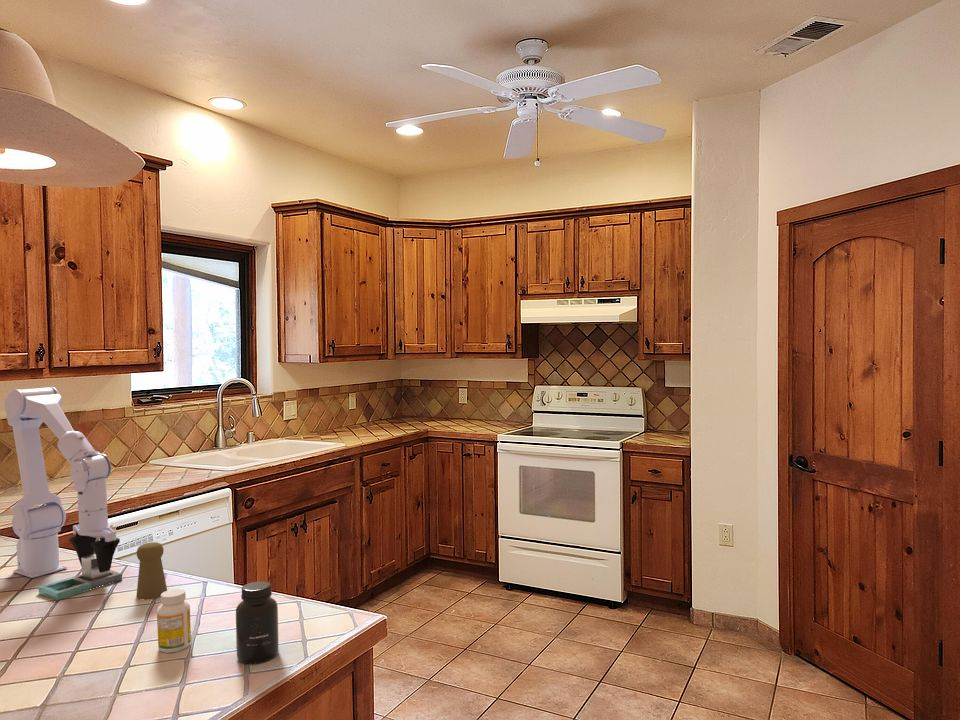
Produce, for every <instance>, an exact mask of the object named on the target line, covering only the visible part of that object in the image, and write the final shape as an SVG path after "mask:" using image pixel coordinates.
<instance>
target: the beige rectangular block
mask: <svg viewBox="0 0 960 720" xmlns="http://www.w3.org/2000/svg"><path fill="white" fill-rule="evenodd" d="M81 560H82V567H81V574H82V579H84V580H87V581H93V580H96V579H100V578H103V577H106V576H109V571H105V572H102V573H101V572H99V569H98V564H97V558H96V555H95V553H93V554H92V555H89V556H85V557H81Z"/></svg>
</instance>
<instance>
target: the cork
mask: <svg viewBox="0 0 960 720" xmlns="http://www.w3.org/2000/svg"><path fill="white" fill-rule="evenodd" d="M164 550H165V549H164V546H163V544H162V543H160V542H157V541H154V542H146V543H143V544H141V545H139V546H138V548H137V549H136V557H137V559H138V561H139V564H138V565H139V566H138V576H137V577H138V578H137V586H136V587H137V588H136V599H137V598H138V599H137V600H140V599H144V600H143V601H147V600H148V599H149V600H156V599H159V598H161V594H162V593H163V592H165V591H168V587H167V582H166V577H165V571H164V567H163V560H162V557H163V555H164Z"/></svg>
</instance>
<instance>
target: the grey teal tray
mask: <svg viewBox="0 0 960 720" xmlns="http://www.w3.org/2000/svg"><path fill="white" fill-rule="evenodd" d="M119 580H121V581H123V573H121V572H118V571H115V570H111V569H110V570H109V576H106V577H103V578H100V579H96V580H93V581H87V580H84V579H82V573H81V574H78V575H74V576H71V577H68V578H65V579H60V580H58V581H54V582H50V583H47V584H43V585H41V586H38V594H39V595H41V596H43V597H47V598H50V599H52V600H56V601H61V600H63V598H64V599H66V597H67V598H70V597H73V596H75V594H76V595H79V594H82V592H83V593H85V592H84V591H86V592H88V591H87V590H89V591H91V590H90V589H92V590H94V589H93V588H95V589H97V588H96V587H98V588H100V587H99V586H102V585H105V586H106V584H108V585H110V584H109V583H111V584H113V583H112V582H114V583H117V582H120V581H119ZM116 581H117V582H116ZM71 585H72V586H71ZM73 585H74V586H73ZM68 586H69V587H68ZM65 587H66V588H65ZM102 587H103V586H102ZM78 593H79V594H78ZM72 595H73V596H72ZM69 596H70V597H69Z"/></svg>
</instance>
